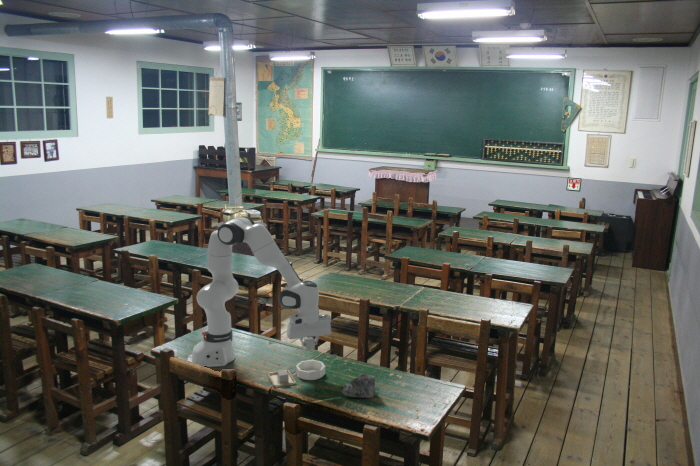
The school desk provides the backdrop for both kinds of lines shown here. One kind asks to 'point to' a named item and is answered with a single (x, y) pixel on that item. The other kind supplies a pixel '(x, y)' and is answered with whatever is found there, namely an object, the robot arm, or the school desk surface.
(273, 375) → the tray
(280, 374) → the grey rectangular block
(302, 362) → the bowl
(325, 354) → the school desk surface
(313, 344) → the grey cube
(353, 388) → the mineral rock
